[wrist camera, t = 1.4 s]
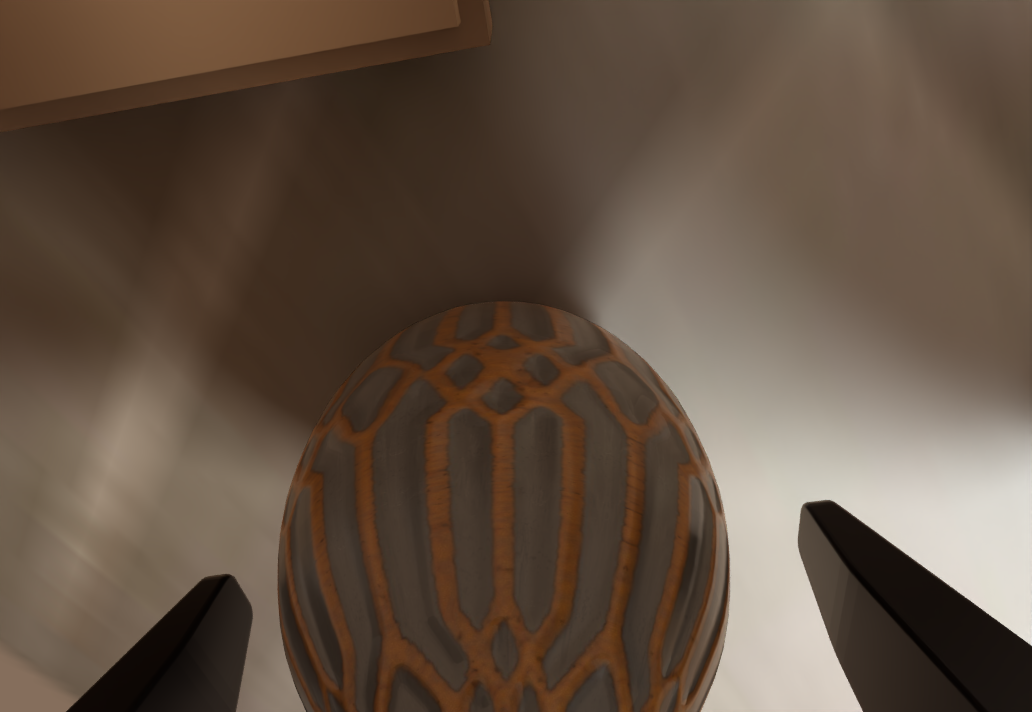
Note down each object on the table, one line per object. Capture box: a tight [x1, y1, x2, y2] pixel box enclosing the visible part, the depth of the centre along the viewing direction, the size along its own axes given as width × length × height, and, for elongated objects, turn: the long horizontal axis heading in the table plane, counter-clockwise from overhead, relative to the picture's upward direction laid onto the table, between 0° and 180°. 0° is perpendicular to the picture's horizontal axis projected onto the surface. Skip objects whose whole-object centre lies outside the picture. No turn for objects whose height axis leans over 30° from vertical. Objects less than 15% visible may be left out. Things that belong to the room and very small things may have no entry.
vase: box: [278, 301, 730, 712], centre depth 10 cm, size 7×7×9 cm
